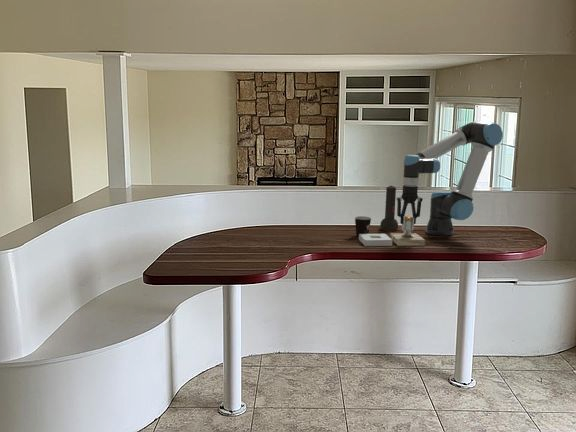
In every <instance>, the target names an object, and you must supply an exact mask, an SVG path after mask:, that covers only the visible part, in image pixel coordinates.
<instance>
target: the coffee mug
mask: <svg viewBox="0 0 576 432" xmlns="http://www.w3.org/2000/svg"><path fill="white" fill-rule="evenodd" d="M371 221H372V218H371V217H370V216H363V215H362V216H355V217H354V224H355V225H354V226H355V236H356V237H358V238H359V234H370V228H371Z"/></svg>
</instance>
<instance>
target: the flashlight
mask: <svg viewBox="0 0 576 432" xmlns="http://www.w3.org/2000/svg"><path fill="white" fill-rule="evenodd" d="M385 188H386V192H385V211H384V218H383V219H382V220H381V221H380V224H379V225H380V227H379V228H380V229H381V230H382V231H388V232H389V231H392V232H394V231H398V230H399V223H398V221H397V219H395V214H396V198H397V196H396V194H397V188H396V187H395V186H393V185H388V186H387V187H385Z"/></svg>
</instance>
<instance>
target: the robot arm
mask: <svg viewBox="0 0 576 432" xmlns="http://www.w3.org/2000/svg"><path fill="white" fill-rule="evenodd" d="M453 132H454V133H453ZM453 132H452V133H451V134H450V135H448V136H446V137H444V138H442V139H441V140H439V141H437V142H436V143H433V144H432V145H430V146H428V147H427V148H425V149H423V150H421V151H419V152H418V153H416V154H407V155H405V156H404V159H403V177H402V179H403V181H402V184H403V185H402V194H401V195H400V196H399V197H397V196H396V198H395V200H396V202H397V205H396V206H397V207H396V209H397V210H396V212H397V213H396V217H397V216H398V217H399V218H400V223H399V224H401V231H403V232H404V231H405V218H404V217H405V215H406V211H407V207H408V204H409V205H411V212H412V213H411V214H412V216H411V217H412V230H411V232H412V231H414V230H415V228H414V226H415V225H416V224H417V223H416V222H417V218H419V217H421V211H422V210H421V208H422V202H423V197H420V196H419V195H418V190H419V189H418V188H419V186H418V185H419V174H436V173H439V171H440V170H441V162H440V160H439V158H441V157H442V156H444V155H446V154H447V153H449V152H451V151H452V150H455V149H456V148H458V147H460V146H467V145H468V144H471V146H472V148H471V151H470V153H469V155H468V158H467V160H466V163H465V166H464V167H463V168H464V169H463V171H462V173H461V175H460V178H459V180H458V182H457V185H456V188H455V189H453V190H452V191H434V192H432V193H431V197H430V207H429V208H430V209H429V219H428V221H427V224H426V227H425V232H426V234H428V235H429V234H430V235H434V236H451V235H453V234H455V233H454V231H455V230H454V229H455V228H454V225H453V221H452V219H453V220H456V221H465V220H467V219H468V218H470V217H471V216H472V214H473V213H474V203H473V200H474V198H473V195H472V194H473V192H474V189H475V188H476V184H477V182H478V180H479V177H480V174H481V172H482V170H483V167H484V165H485V162H486V160H487V157H488V154H489V153H491V152H492V151H493V150H494V147H495V146H498V145H499V144H501V142H502V140H503V138H504V137H503V135H504V134H503V129H502V127H501V125H500V124H499V123H496V122H492V121H481V120H479V121H478V120H475V121H471V122H469V123H466V124H464V125H462V126H461V127H458V128H457V129H455V130H454V131H453ZM402 201H403V205H402ZM416 201H417V204H416V203H415V202H416Z"/></svg>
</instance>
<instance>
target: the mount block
mask: <svg viewBox="0 0 576 432" xmlns="http://www.w3.org/2000/svg"><path fill="white" fill-rule="evenodd" d="M358 241H360V242H361V243H362V244H363V246H364V247H390V246H393V241H392V239H391V238H390V236H388V234H386V233H369V234H359V237H358Z"/></svg>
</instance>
